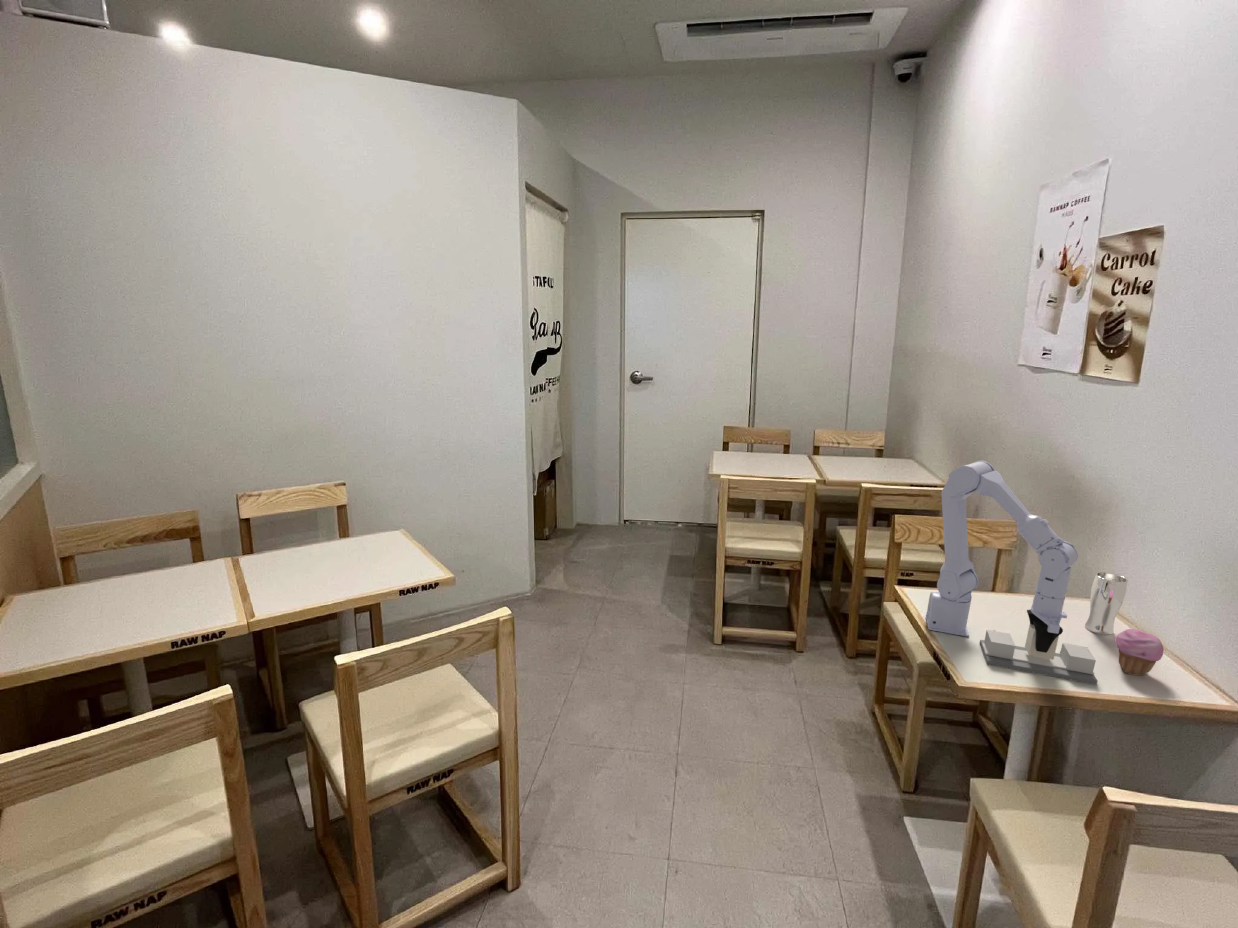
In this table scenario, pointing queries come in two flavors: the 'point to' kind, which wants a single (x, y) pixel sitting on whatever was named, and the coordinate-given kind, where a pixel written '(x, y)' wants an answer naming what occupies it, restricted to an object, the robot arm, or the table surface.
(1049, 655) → the block
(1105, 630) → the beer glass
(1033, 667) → the rail board
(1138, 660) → the cupcake
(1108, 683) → the table surface
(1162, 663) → the table surface
